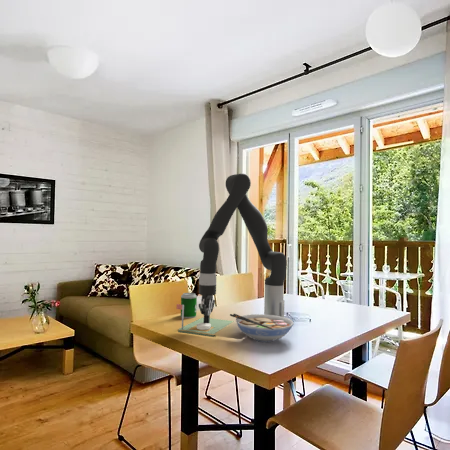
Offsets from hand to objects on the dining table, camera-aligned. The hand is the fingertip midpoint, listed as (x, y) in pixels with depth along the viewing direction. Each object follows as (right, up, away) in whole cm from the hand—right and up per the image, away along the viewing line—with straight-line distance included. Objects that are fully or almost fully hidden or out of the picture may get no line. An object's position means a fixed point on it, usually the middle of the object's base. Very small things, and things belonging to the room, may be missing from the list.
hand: (206, 323), depth 152 cm
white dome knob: (-1, -2, -4) cm, 5 cm away
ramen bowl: (+23, -2, -15) cm, 28 cm away
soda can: (-10, -3, +16) cm, 19 cm away
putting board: (0, -2, +1) cm, 2 cm away
